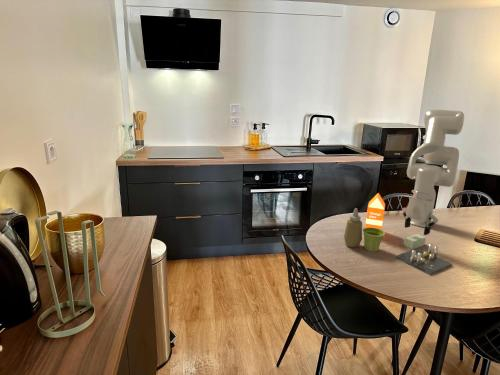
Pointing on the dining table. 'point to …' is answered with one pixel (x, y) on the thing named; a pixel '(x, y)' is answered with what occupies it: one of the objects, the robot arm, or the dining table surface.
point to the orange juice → (375, 212)
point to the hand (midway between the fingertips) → (416, 230)
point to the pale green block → (414, 241)
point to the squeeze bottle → (353, 230)
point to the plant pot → (372, 238)
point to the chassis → (424, 260)
